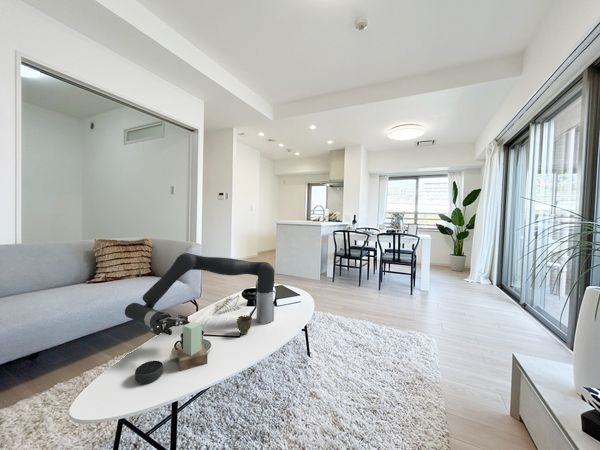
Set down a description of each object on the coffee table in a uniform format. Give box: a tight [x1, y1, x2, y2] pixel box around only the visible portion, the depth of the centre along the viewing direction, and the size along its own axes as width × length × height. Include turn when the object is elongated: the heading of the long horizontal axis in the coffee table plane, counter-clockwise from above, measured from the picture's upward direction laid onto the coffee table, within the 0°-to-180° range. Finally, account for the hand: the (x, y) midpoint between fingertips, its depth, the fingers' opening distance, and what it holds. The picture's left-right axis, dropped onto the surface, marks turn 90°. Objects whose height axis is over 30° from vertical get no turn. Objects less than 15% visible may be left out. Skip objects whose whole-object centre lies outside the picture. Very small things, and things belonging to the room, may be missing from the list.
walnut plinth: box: [177, 342, 208, 372], centre depth 100 cm, size 10×10×4 cm
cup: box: [236, 315, 253, 336], centre depth 124 cm, size 8×7×8 cm
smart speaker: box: [134, 360, 164, 385], centre depth 90 cm, size 9×9×4 cm
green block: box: [182, 320, 203, 356], centre depth 100 cm, size 5×5×11 cm
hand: (180, 328), depth 103 cm, fingers open, 8 cm apart
